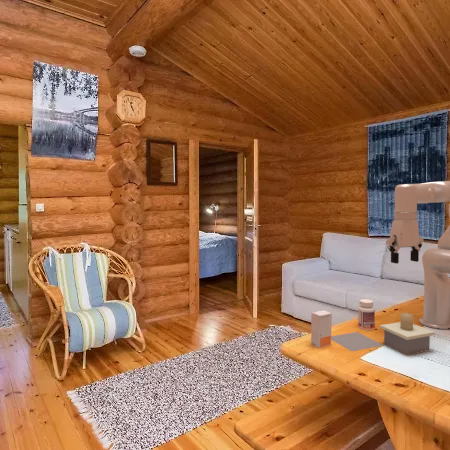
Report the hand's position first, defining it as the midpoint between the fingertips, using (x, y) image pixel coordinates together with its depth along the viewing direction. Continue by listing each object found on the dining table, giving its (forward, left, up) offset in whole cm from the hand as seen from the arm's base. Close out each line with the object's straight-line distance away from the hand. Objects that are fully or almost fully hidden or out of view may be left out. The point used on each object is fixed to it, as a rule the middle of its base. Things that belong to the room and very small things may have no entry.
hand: (404, 262), depth 137 cm
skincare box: (+35, -3, -28) cm, 45 cm away
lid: (+9, +10, -22) cm, 26 cm away
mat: (+22, -1, -28) cm, 36 cm away
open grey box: (+9, +10, -28) cm, 31 cm away
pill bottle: (+8, -11, -28) cm, 32 cm away
